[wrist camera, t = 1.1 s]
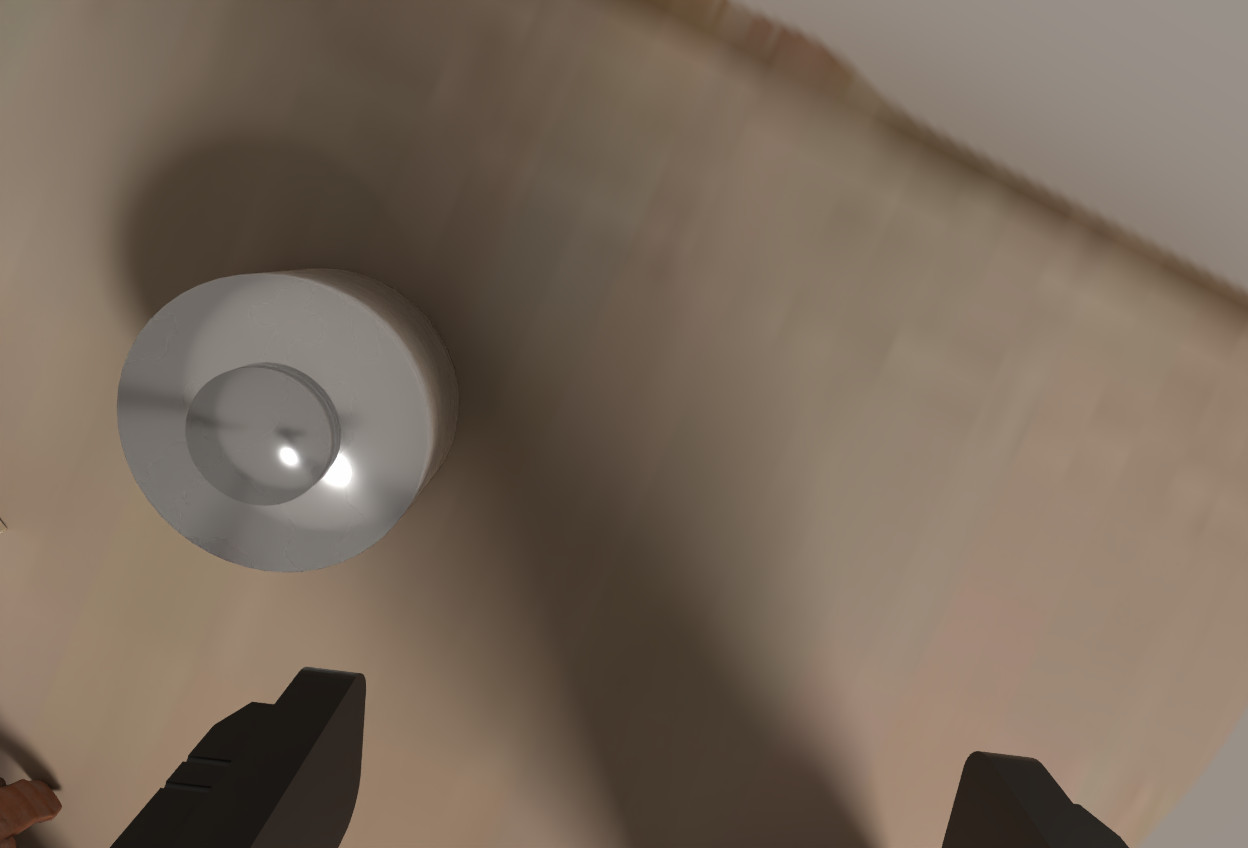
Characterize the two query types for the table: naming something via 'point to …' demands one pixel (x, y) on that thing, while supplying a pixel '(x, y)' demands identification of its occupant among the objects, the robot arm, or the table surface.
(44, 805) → the pottery mug
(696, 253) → the table surface
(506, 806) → the table surface
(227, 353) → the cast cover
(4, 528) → the wooden display stand
